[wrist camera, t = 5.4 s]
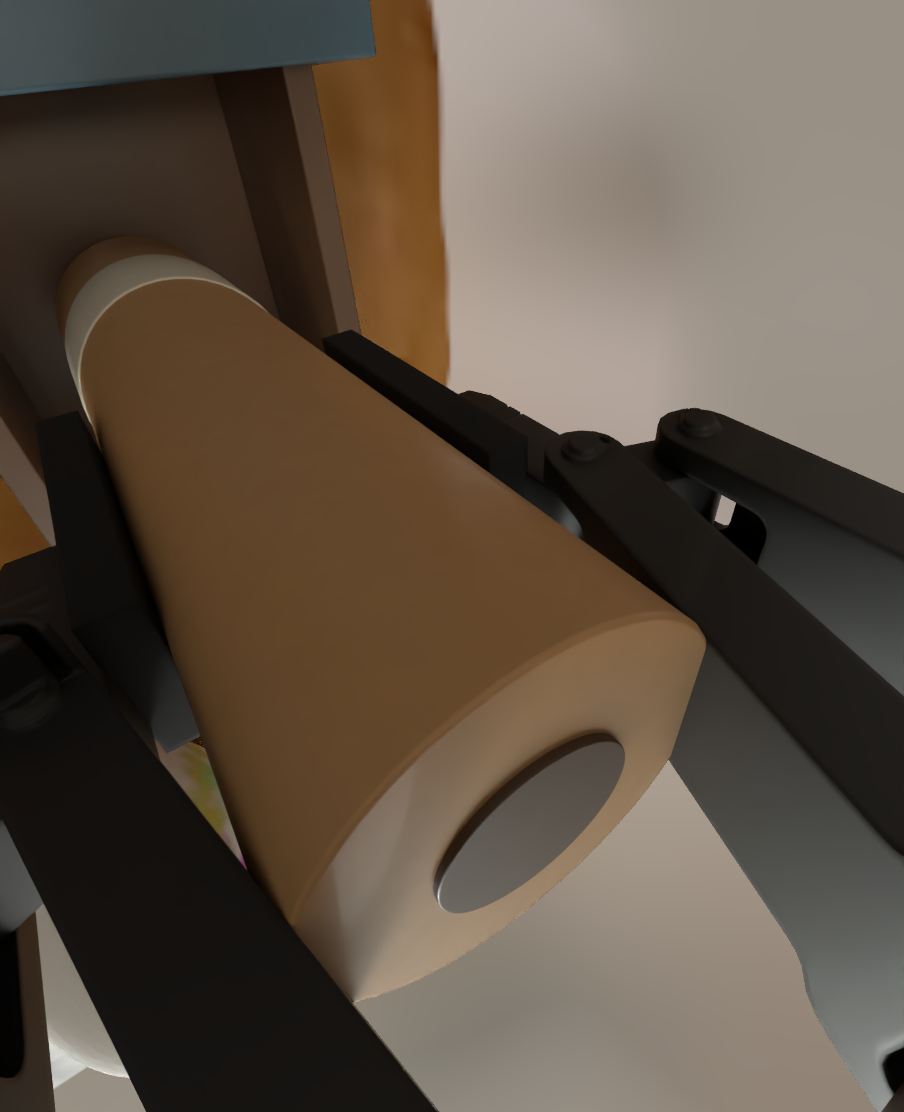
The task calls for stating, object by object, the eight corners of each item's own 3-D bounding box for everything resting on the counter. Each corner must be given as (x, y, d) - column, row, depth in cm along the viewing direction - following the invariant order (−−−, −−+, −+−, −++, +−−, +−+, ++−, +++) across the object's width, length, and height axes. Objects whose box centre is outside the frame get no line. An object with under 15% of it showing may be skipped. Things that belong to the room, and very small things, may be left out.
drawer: (350, 494, 31) (422, 571, 26) (109, 592, 27) (138, 709, 21) (235, 21, 19) (329, -11, 14) (-248, 57, 14) (-382, 27, 9)
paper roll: (178, 429, 21) (504, 966, 8) (16, 339, 17) (136, 1100, 4) (261, 312, 21) (760, 681, 8) (114, 191, 17) (616, 518, 4)
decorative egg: (221, 818, 41) (297, 1047, 31) (4, 886, 34) (11, 1216, 24) (243, 689, 36) (342, 915, 26) (-10, 736, 28) (-9, 1080, 18)
